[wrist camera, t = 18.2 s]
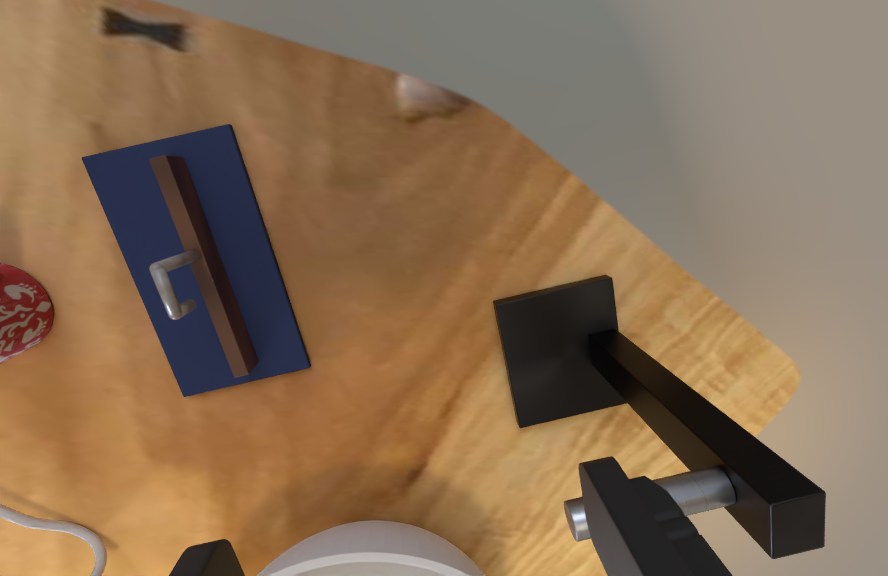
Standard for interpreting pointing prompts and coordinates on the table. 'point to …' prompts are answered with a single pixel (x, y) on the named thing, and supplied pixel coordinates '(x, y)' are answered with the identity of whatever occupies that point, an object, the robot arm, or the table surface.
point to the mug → (21, 312)
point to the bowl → (373, 553)
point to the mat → (156, 238)
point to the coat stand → (650, 414)
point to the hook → (63, 527)
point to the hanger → (199, 265)
